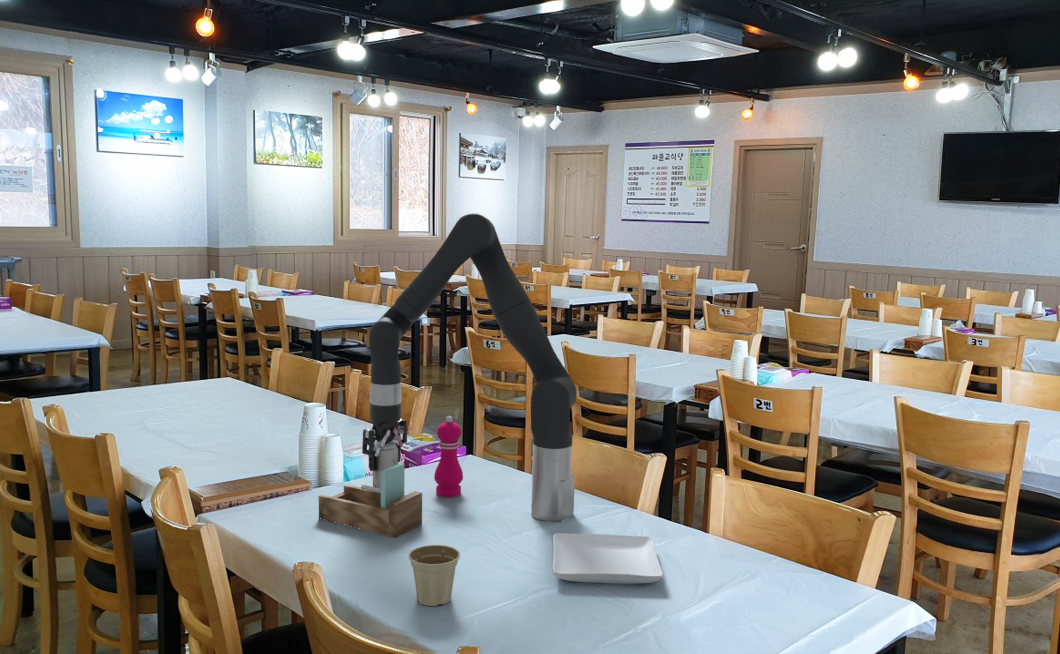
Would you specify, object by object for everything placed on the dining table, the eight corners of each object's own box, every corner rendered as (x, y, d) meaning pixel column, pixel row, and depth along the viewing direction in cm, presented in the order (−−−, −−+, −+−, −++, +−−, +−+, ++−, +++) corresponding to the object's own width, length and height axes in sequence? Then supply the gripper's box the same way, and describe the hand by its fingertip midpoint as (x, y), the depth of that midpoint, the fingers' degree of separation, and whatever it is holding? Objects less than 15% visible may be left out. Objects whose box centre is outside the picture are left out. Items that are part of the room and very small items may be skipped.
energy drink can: (395, 507, 205) (395, 446, 203) (370, 506, 205) (370, 445, 203) (399, 499, 211) (400, 439, 209) (375, 498, 211) (375, 439, 209)
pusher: (404, 515, 194) (404, 464, 193) (385, 524, 188) (385, 471, 187) (372, 507, 199) (372, 457, 197) (352, 516, 193) (352, 465, 191)
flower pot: (409, 588, 161) (409, 544, 160) (459, 587, 162) (460, 543, 161) (406, 611, 152) (406, 564, 150) (459, 610, 152) (460, 564, 151)
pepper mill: (458, 499, 212) (459, 420, 209) (430, 496, 213) (430, 418, 210) (466, 490, 219) (467, 413, 216) (439, 487, 220) (439, 411, 217)
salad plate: (552, 546, 184) (553, 531, 183) (651, 549, 183) (652, 534, 183) (551, 589, 163) (552, 572, 162) (663, 593, 162) (664, 576, 162)
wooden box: (422, 524, 194) (422, 492, 193) (396, 537, 186) (396, 504, 185) (346, 506, 204) (346, 476, 203) (318, 518, 196) (318, 487, 195)
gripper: (379, 408, 197) (378, 476, 199) (416, 397, 209) (415, 461, 211) (353, 404, 200) (353, 471, 202) (391, 393, 213) (390, 456, 215)
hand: (385, 466), depth 207 cm, fingers open, 8 cm apart
